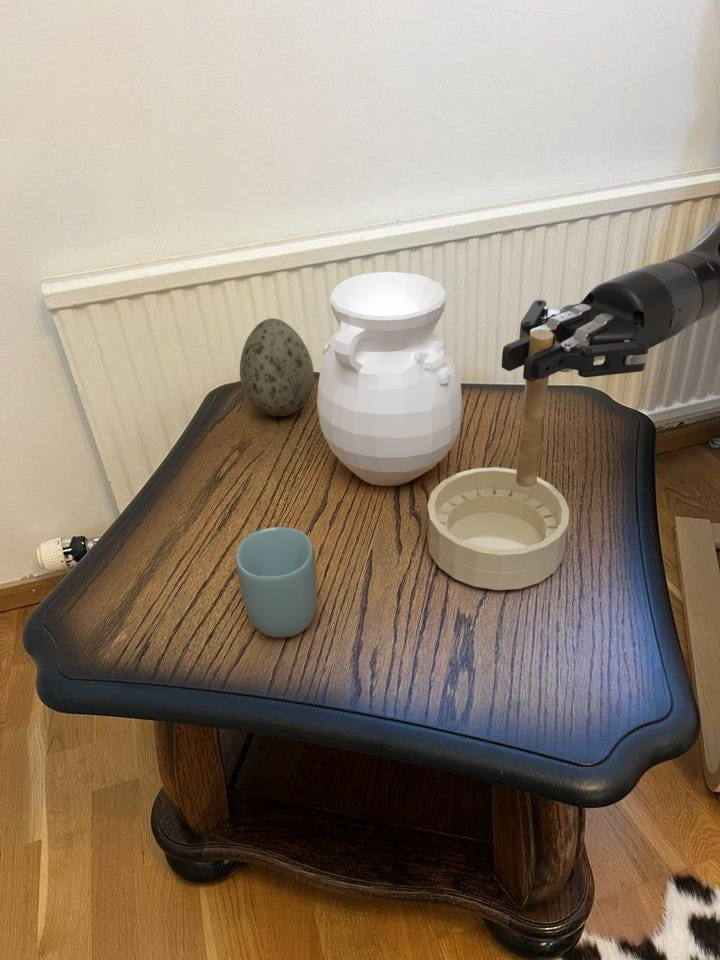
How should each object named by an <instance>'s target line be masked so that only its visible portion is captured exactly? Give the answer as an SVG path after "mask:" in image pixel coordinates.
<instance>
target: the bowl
mask: <svg viewBox="0 0 720 960" xmlns="http://www.w3.org/2000/svg"><path fill="white" fill-rule="evenodd" d="M516 474H517V468H516V469H514V468H507V467H498V466H492V467H491V466H490V467H475V468H471V469H467V470H463V471H459V472H457V473H454V474H453V475H451V476H449V477H447V478H445V479H444V480H442V481H440V483H439V484H437V486H435V488H434V489H433V490H432V491H431V493H430V496H429V498H428V502H427V505H426V542H427V549H428V553H429V555H430V557H431V558H432V559H433V561H434V562H435V564H436V565H437V567H438V568H439V569H441V570H442V571H443V572H444V573H446V574H447V575H449V576H450V577H452V579H454V580H457V581H459V582H461V583H464V584H467V585H469V586H472V587H475V588H480V589H487V590H494V591H508V590H520V589H524V588H528V587H530V586H534V585H537V584H540V583H541V582H542V581H544V580H546V579H547V578H549V577H550V576H551V575H552V574H554V573H556V571H557V569H558V568H559V566H560V565H561V563H562V562H563V560H564V556H565V548H566V543H567V535H568V530H569V525H570V524H569V521H570V511H571V510H570V508H569V506H568V504H567V501H566V499H565V497H564V495H563V494H562V493H561V492H560V491H559V490H558V489H557V488H556V487H555V486H554V485H553V484H552V483H549V482H548V481H546V480H544V479H543V478H541V477H539V476H537V481H536V484H535V485H534V486H532V487H523V486H520V485H519V484H517V482H516Z"/></svg>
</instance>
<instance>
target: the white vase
mask: <svg viewBox="0 0 720 960" xmlns="http://www.w3.org/2000/svg"><path fill="white" fill-rule="evenodd" d="M447 297H448V293H447V292H446V290H445V289H444V288H443V286H442V285H441V284H440V283H439V282H437V281H436V280H433V279H432V278H430V277H427V276H424V275H421V274H416V273H409V272H401V271H400V272H399V271H383V272H382V271H380V272H368V273H363V274H362V273H361V274H358V275H355V276H352V277H348V278H346V279H345V280H342V281H341V282H339V283H337V285H336V286H335V287H334V289H333V290H332V291H331V293H330V297H329V304H330V308H331V310H332V314H333V316H334V318H335V320H336V322H337V325H339V328H340V329H339V331H338V332H336V333H335V332H334V334H333V335H332V336H331V337H330V339H329V341H328V342H327V344H326V345H325V346H324V348H323V349H322V355H323V358H322V363H321V367H320V372H319V376H318V383H317V384H318V385H317V396H316V408H317V414H318V422H319V426H320V429H321V431H322V435H323V437H324V439H325V441H326V443H327V445H328V446H329V448H330V451H331V452H332V453H333V455H335V457H336V458H337V459H338V460H339V461H340V462H341V463H342V464H343V465H344V466H345V467H346V468H347V469H348V470H350V471H351V472H352V473H353V474H354V475H356V476H357V477H358V478H359V479H361V480H362V481H364V482H365V483H368V484H371V485H374V486H380V487H398V486H401V485H404V484H407V483H410V482H412V481H413V480H415V479H416V478H418V477H420V476H422V475H424V474H425V473H426V472H428V471H430V470H432V469H433V468H434V467H436V466H437V465H438V464H439V463H440V462H441V461H442V460H443V459H445V457H446V456H447V454H448V453H449V452H450V450H452V448H453V447H454V444H455V442H456V439H457V437H458V435H459V433H460V430H461V421H462V408H463V395H462V384H461V380H460V377H459V374H458V373H459V372H458V371H457V368H456V365H455V363H454V362H453V360H452V358H451V355H450V354H449V352H448V350H447V349H446V343H445V341H444V340H443V339H442V340H440V339H439V337H437V336H436V335H435V334H434V333H433V332H434V330H435V328H436V326H437V325H438V323H439V321H440V319H441V317H442V315H443V313H444V312H445V307H446V302H447Z"/></svg>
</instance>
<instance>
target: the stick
mask: <svg viewBox="0 0 720 960" xmlns="http://www.w3.org/2000/svg"><path fill="white" fill-rule="evenodd" d="M553 338H554V335H553V333H552V332H551V331H548V330H542V329H539V330H534V331H532V332H531V333H530V341H529V352H528V356H530V355H532V354H535V353H537V352H539V351H541V350H544V349H546V348H549V347H551V346H553ZM549 381H550V376H548V377H546V378H543V379H537V380H535V381H533V382H529V381H527V380H525V383H524V394H523V404H522V414H521V425H520V435H519V445H518V454H517V456H518V457H517V465H516V466H517V467H516V470H517V474H516V482H517V484H519V485H520V486H523V487H532V486H534V485H535V484H536V481H537V477H538V472H539V466H540V465H539V463H540V455H541V445H542V438H543V430H544V421H545V411H546V406H547V405H546V404H547V397H548V396H547V395H548V388H549V387H548V386H549Z"/></svg>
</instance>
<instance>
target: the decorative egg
mask: <svg viewBox="0 0 720 960" xmlns="http://www.w3.org/2000/svg"><path fill="white" fill-rule="evenodd" d="M241 351H242V352H241V356H240V361H239V379H240V384H241V387H242V390H243V393H244V395H245V396H246V398H247V400H248V402H250V403H251V405H252V406H253V407H254V408H255V409H257V410H258V411H259V412H261V413H262V414H265V415H268V416H271V417H279V418H280V417H287V416H289V415H293V414H294V413H296V412H298V411H299V410H300V409H301V408H302V407H304V405H305V404H306V403H307V401H308V400H309V398H310V396H311V394H312V390H313V386H314V383H315V381H314V380H315V373H314V372H315V371H314V365H313V361H312V358H311V354H310V352H309V350H308V348H307V346H306V344H305V342H304V340H303V339H302V338H301V336H300V335H299V334H298V332H296V330H295V329H294V328H293V327H292V326H291V325H289V324H288V323H287V322H285V321H283V320H281V319H279V318H273V317H271V318H266V319H264V320H262V321H260V322H259V323H258V324H257V325H256V326H255V327H254V328H253V329H252V330H251V332H250V333H249V335H248V337H247V338H246V341H245V343H244V345H243V348H242V350H241Z"/></svg>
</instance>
